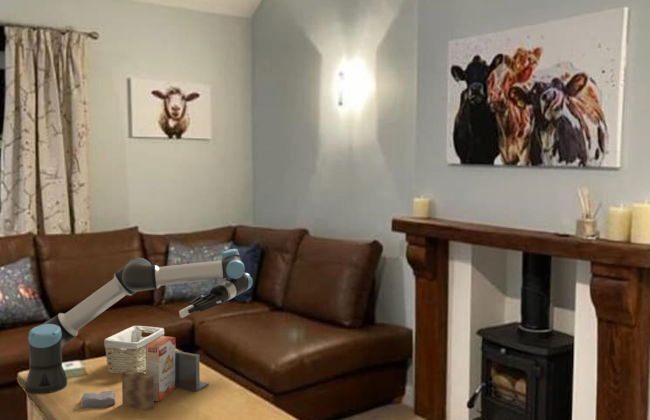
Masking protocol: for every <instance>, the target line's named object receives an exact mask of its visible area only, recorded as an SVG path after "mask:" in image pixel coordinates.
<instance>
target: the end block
mask: <svg viewBox="0 0 650 420" xmlns="http://www.w3.org/2000/svg"><path fill="white" fill-rule="evenodd" d="M121 381H122V382H121V383H122V384H121V385H122V386H121V387H122V388H121V390H122V399H121V401H122V405H123V406H128V407H133V408H135V409H140V410H144V411H150V410H152V409H154V406H155V404H154V402H155V401H154V392H153V375H150V374H146V372H145V373H144V372H142V373H141V372H136V371H131V370H127V371H124V372H122V374H121Z"/></svg>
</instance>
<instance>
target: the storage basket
mask: <svg viewBox="0 0 650 420" xmlns="http://www.w3.org/2000/svg"><path fill="white" fill-rule="evenodd" d="M143 333H145V334H146V333H147V334H150V335H148V336H142V334H143ZM162 336H165V329H164V327H155V326H146V325H145V326H144V325H143V326H142V325H133V326H130V327H128V328H126V329H123V330H121V331H120V332H117V333H115V334H113V335H111V336H109V337H106V338H104V340H103V341H104V342H103V343H104V349H105V356H106V357H105V358H106V363H107V371H108V373H110V374H111V373H112V374H119V375H122V372H124V371H127V370H131V371H136V372H141V373H144V372H146V346H147V345H149V344H150V343H152V342H154V341H155V340H157V339H159V338H161V337H162Z"/></svg>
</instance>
